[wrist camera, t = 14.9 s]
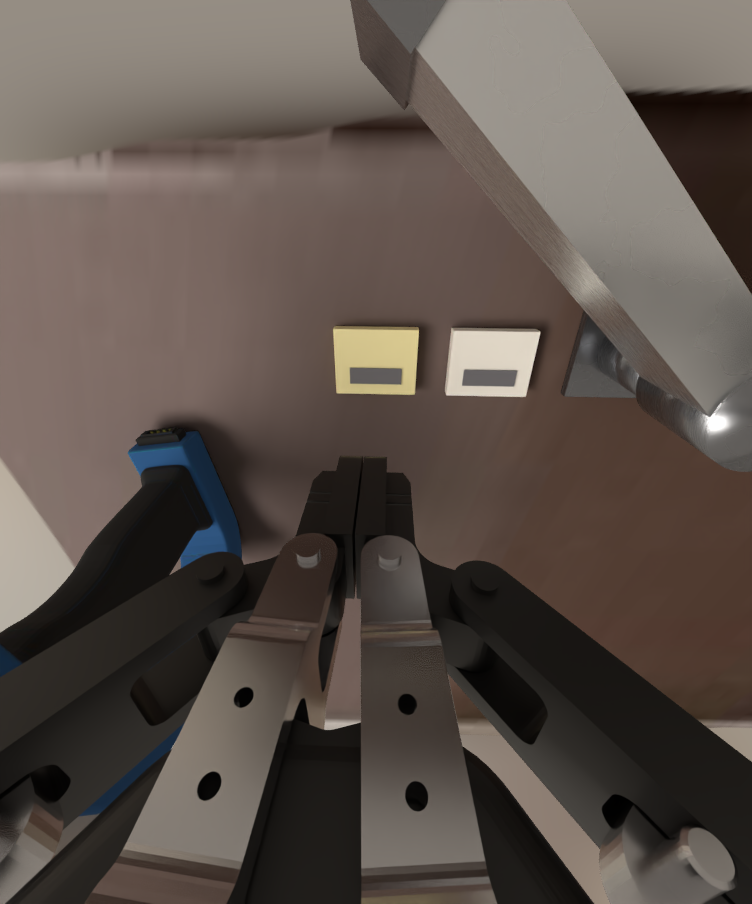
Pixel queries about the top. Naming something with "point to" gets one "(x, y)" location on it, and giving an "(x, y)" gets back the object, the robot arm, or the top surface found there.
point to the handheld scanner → (134, 562)
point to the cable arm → (581, 194)
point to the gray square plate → (597, 366)
